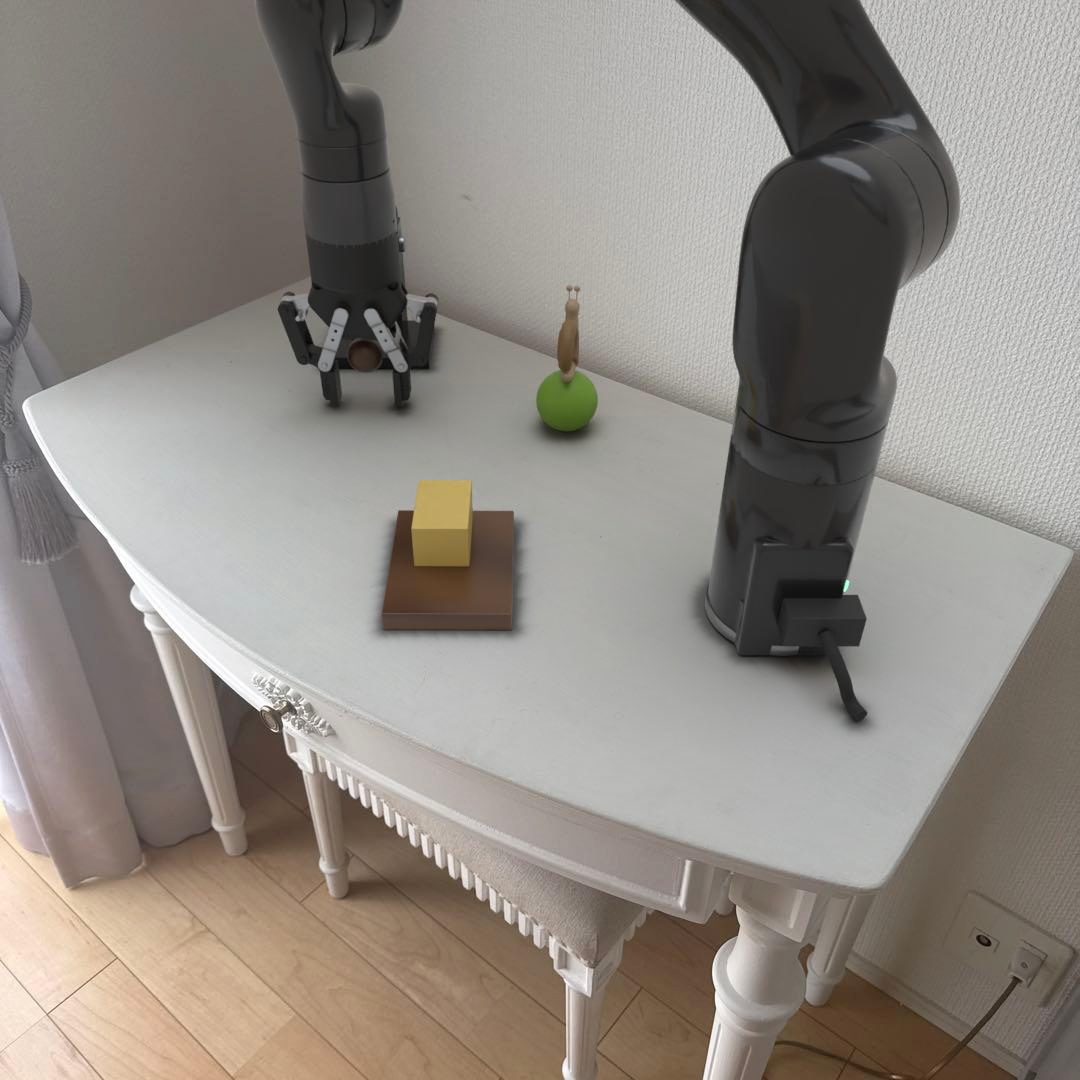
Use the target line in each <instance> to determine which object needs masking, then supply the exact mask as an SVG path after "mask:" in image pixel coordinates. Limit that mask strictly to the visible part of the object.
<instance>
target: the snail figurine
mask: <svg viewBox="0 0 1080 1080" xmlns="http://www.w3.org/2000/svg"><path fill="white" fill-rule="evenodd" d="M566 291H567V292H568V300H566V302H565V305H564V311H565V317H564V321H563V323H562V324H561V327H560V330H559V332H558V339H557V348H556V349H557V351H556V359H557V365H558V368H559V370H556V371H553V372H551V373H550V374H548V375H547V376H545V378H544V379H543V381H541V383H540V384H539V387H538V389H537V392H536V399H535V403H536V408H537V412H538V414H539V416H540V418H541V419H542V420H543V422H544V423H545V424H546V425H547V426H549V427H551V428H552V429H554V430H557V431H561V432H573V431H577V430H580V429H581V428H584V427H585V426H586V425H587V424H588V423H590V421H591V420H592V419H593V417H594V416H595V414H596V412H597V408H598V403H599V397H598V392H597V389H596V387H595V384H594V383H593V381H592V380H591V379H590V378H589V377H588V376H587V375H586V374H585V373H583V372H581V371H578V370H576V369H577V366H578V364H579V359H580V358H579V357H580V331H579V329H580V328H579V325H580V324H579V323H580V322H579V314H580V313H579V312H580V308H581V306H580V303H579V301H578V292H580V291H581V286H580V285H575V286H574V287H573V285H571V284H568V285H567V286H566ZM572 291H575V292H576V296H575V298H571V292H572Z"/></svg>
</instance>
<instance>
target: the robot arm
mask: <svg viewBox="0 0 1080 1080" xmlns="http://www.w3.org/2000/svg"><path fill="white" fill-rule="evenodd" d="M253 1H254V2H253V3H254V10H255V11H254V12H255V17H256V21H257V26H258V28H259V31H260V34H261V37H262V39H263V42H264V44H265V47H266V49H267V51H268V54H269V57H270V59H271V62H272V63H273V65H274V68H275V71H276V74H277V77H278V79H279V82H280V85H281V88H282V90H283V93H284V95H285V99H286V102H287V103H288V106H289V110H290V111H291V115H292V118H293V122H294V129H295V139H296V145H297V147H296V148H297V154H298V161H299V169H300V202H301V203H300V204H301V211H302V218H303V227H304V234H305V243H306V248H307V258H308V264H309V272H310V281H311V287H310V289H309V292H306V293H305V292H304V293H301V294H296V293H294V292H292V291H286V292H284V293H283V295H282V297H281V300H280V302H279V304H278V307H277V312H278V316H279V318H280V320H281V323H282V325H283V328H284V331H285V333H286V336H287V338H288V341H289V343H290V346H291V348H292V352H293V354H294V356H295V358H296V361H297V363H298V364H299V365H301V366H307V365H311V366H314V367H316V368H317V369H318V371H319V377H320V384H321V390H322V397H323V398H324V399H325V401H330V406H331V407H340V405H341V402H342V398H343V392H342V383H341V381H342V380H341V375H340V374H341V373H340V368H339V364H338V360H335V355H336V352H337V349H338V346H339V343H340V340H341V337H343V340H353V339H358V338H363V339H367V340H378V341H379V343H380V345H381V347H382V349H383V351H384V352H385V353H387V354H388V356H389V358H390V360H391V362H392V364H393V366H394V367H393V369H392V371H391V373H392V374H391V375H392V386H393V398H394V408H395V407H396V408H403V407H404V404H405V402H409V400H410V398H411V393H412V377H411V369H410V368H411V367H413V366H416V365H418V366H425V365H426V364H427V362H428V357H429V351H430V346H431V340H432V335H433V329H434V326H435V324H436V317H437V312H438V306H439V297H438V296H437V294H435V293H432V292H431V293H427V294H425V296H422V295H417V294H412V293H409V292H408V290H407V288H406V286H405V287H404V285H403V283H402V280H401V272H400V258H399V244H398V230H397V218H398V217H399V214H398V213H399V212H398V207H397V203H396V195H395V188H394V183H393V178H392V174H391V166H390V164H391V163H390V152H389V151H390V150H389V138H388V126H387V117H386V109H385V105H384V102H383V99H382V98H381V95H380V94H379V93H378V92H377V91H376V90H375V89H373V88H371V87H369V86H368V85H363V84H359V83H355V82H342V81H340V78H339V77H338V75H337V73H336V70H335V66H334V57H337V56H341V55H346V54H351V53H354V52H359V51H364V50H367V49H372V48H374V47H376V46H378V45H380V44H382V43H383V42H385V40H386V39H387V38H388V37H390V35H391V33H392V32H393V31H394V30H395V27H396V26H397V24H398V22H399V21H400V18H401V15H402V12H403V7H404V4H405V3H404V2H405V0H253ZM674 2H675V3H676V4H678V6H679V7H680V8H681V9H682V10H683V11H685V12H686V13H687V15H689V16H690V18H692V19H693V20H694V21H695V22H696V23H697V24H698V25H699V26H700V27H702V29H703V30H705V31H706V32H707V33H708V34H709V35H710V36H711V37H712V38H713V39H714V40H715V41H717V42H718V44H720V46H722V47H723V49H725V50H726V51H727V52H728V53H729V54H730V56H732V57H733V58H734V59H735V60H736V61H737V63H738V64H739V65H740V66H741V67H742V69H743V70H744V71H745V73H746V74H747V75H748V77H749V78H750V80H751V81H752V83H753V84H754V86H755V88H756V89H757V90H758V91H759V93H760V95H761V97H762V98H763V100H764V102H765V103H766V104H765V105H766V106H767V108H768V110H769V112H770V114H771V116H772V119H773V120H774V122H775V124H776V126H777V128H778V130H779V133H780V135H781V137H782V139H783V142H784V144H785V146H786V148H787V152H788V154H789V156H787V157H785V158H784V159H783V160H781V161H780V162H778V163H777V164H775V166H773V167H772V168H771V169H770V170H769V171H768V172H767V173H766V174H765V175H764V177H763V178H762V179H761V181H760V183H759V184H758V186H757V188H756V190H755V192H754V194H753V196H752V198H751V202H750V203H749V207H748V210H747V214H746V216H745V217H746V218H745V221H744V225H743V226H744V227H743V231H742V235H741V236H742V237H741V243H740V250H739V261H738V270H737V281H736V290H735V302H734V311H733V312H734V313H733V323H732V336H731V337H732V340H731V341H732V342H731V343H732V353H733V359H734V360H733V361H734V363H735V367H736V369H737V373H738V376H739V378H738V386H737V387H738V388H737V395H736V400H735V407H734V413H733V419H732V420H733V421H732V427H731V435H730V439H729V445H728V453H727V460H726V467H725V472H724V473H725V474H724V479H723V486H722V492H721V499H720V506H719V513H718V521H717V526H716V533H715V539H714V540H715V541H714V546H713V553H712V559H711V560H712V562H711V569H710V574H709V582H708V583H707V588H706V592H705V599H704V608H705V612H706V616H707V618H708V620H709V622H710V623H711V624H712V626H713V627H714V629H716V630H717V631H718V632H719V633H720V634H721V635H722V636H723V637H725V638H726V639H727V640H729V641H730V642H732V643H733V644H734V646H735V649H736V652H737V654H738V655H739V656H777V657H778V656H779V657H781V656H783V657H785V656H787V657H789V656H826V658H827V660H828V663H829V665H830V667H831V670H832V672H833V675H834V677H835V681H836V683H837V686H838V690H839V694H840V698H841V701H842V703H843V705H844V707H845V708H846V711H848V712H849V714H850V715H851V716H852V718H854V720H855V721H857V722H858V721H863V720H864V719H865V718H866V717H867V716H868V711H867V710H866V708H864V707H863V705H861V703H860V702H859V700H858V698H857V697H856V694H855V692H854V686H853V682H852V678H851V676H850V673H849V671H848V668H847V665H846V663H845V661H844V658H843V656H842V653H841V650H840V648H839V647H860V645H861V641H862V637H863V634H864V630H865V627H866V623H867V619H868V618H867V615H866V613H865V610H864V607H863V604H862V603H861V600H860V597H859V595H858V594H845V592H846V591H847V589H848V587H849V584H850V581H849V576H850V572H851V569H852V565H853V561H854V557H855V553H856V549H857V545H858V541H859V537H860V534H861V531H862V526H863V522H864V518H865V514H866V510H867V506H868V503H869V499H870V494H871V490H872V488H873V482H874V479H875V475H876V471H877V469H878V468H877V467H878V464H879V460H880V457H881V452H882V449H883V446H884V441H885V437H886V433H887V430H888V426H889V422H890V418H891V415H892V410H893V407H894V403H895V399H896V394H897V388H898V376H897V375H898V374H897V372H896V369H895V367H894V365H893V364H892V362H891V361H890V359H888V358H887V356H886V355H884V354H885V350H886V345H887V340H888V334H889V331H890V325H891V320H892V317H893V313H894V308H895V303H896V300H897V296H898V293H899V291H900V290H902V289H903V288H904V287H905V286H907V285H908V284H910V283H911V282H912V281H913V280H915V279H916V278H918V277H920V276H921V275H922V274H924V272H926V271H927V270H928V269H930V267H932V266H933V265H934V264H935V263H936V262H937V261H939V259H940V258H941V257H942V256H943V255H944V254H945V252H946V251H947V249H948V248H949V246H950V245H951V243H952V241H953V239H954V236H955V234H956V232H957V228H958V225H959V219H960V212H961V193H960V185H959V181H958V180H959V179H958V176H957V173H956V170H955V167H954V164H953V161H952V159H951V157H950V155H949V153H948V151H947V149H946V147H945V145H944V143H943V141H942V139H941V137H940V135H939V134H938V132H937V130H936V129H935V127H934V126H933V124H932V122H931V120H930V119H929V117H928V116H927V115H928V114H926V112H925V110H924V108H923V107H922V106H921V104H920V103H919V101H918V99H917V98H916V96H915V94H914V92H913V91H912V89H911V87H910V86H909V84H908V82H907V81H906V79H905V78H904V75H903V74H902V72H901V70H900V69H899V67H898V66H897V64H896V62H895V60H894V59H893V57H892V55H891V54H890V52H889V50H888V49H887V47H886V46H885V44H884V42H883V40H882V39H881V37H880V35H879V33H878V31H877V30H876V27H875V26H874V24H873V23H872V21H871V19H870V17H869V15H868V13H867V12H866V11H867V10H866V9H865V7H864V4H862V2H861V0H674ZM309 308H311V309H312V311H313V312H314V313H315V314H316V315H317V316H318V318H320V319H321V321H322V322H323V323H324V324H325V325H326V326H327V328H328V330H327V333H326V336H325V340H324V344H323V347H322V346H319V345H316V344H315V343H314V340H313V337H312V335H311V332H310V330H309V329H310V328H309V327H308V323H307V321H306V318H307V316H308V313H309ZM405 308H407V310H410V312H411V316H412V317H411V318H412V321H416V322H418V323H420V328H419V334H418V339H417V345H416V346H413V347H409V348H408V347H407V345H406V343H405V341H404V339H403V337H402V335H401V330H400V328H399V326H398V324H397V322H396V321H397V319H398V318H399V316H400V315H401V314H402V312H403V311H404V310H405Z"/></svg>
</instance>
